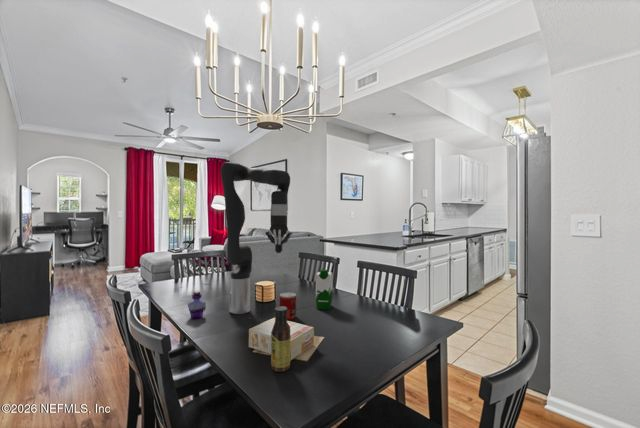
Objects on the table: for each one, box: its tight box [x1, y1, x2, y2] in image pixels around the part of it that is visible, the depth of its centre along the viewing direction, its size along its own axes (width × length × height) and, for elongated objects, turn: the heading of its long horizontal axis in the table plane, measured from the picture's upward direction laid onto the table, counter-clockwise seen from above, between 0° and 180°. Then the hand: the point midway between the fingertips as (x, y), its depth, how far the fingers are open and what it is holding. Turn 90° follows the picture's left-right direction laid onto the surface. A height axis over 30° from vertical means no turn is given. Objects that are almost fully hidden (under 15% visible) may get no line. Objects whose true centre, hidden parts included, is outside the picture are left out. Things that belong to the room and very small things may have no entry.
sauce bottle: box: [270, 305, 291, 373], centre depth 100 cm, size 6×6×20 cm
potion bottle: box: [187, 291, 207, 320], centre depth 146 cm, size 9×9×12 cm
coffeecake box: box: [248, 317, 315, 362], centre depth 115 cm, size 15×7×20 cm
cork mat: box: [252, 335, 325, 362], centre depth 117 cm, size 21×20×1 cm
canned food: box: [279, 291, 297, 321], centre depth 147 cm, size 8×8×11 cm
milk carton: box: [315, 269, 334, 310], centre depth 162 cm, size 9×9×20 cm
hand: (278, 252), depth 139 cm, fingers closed
